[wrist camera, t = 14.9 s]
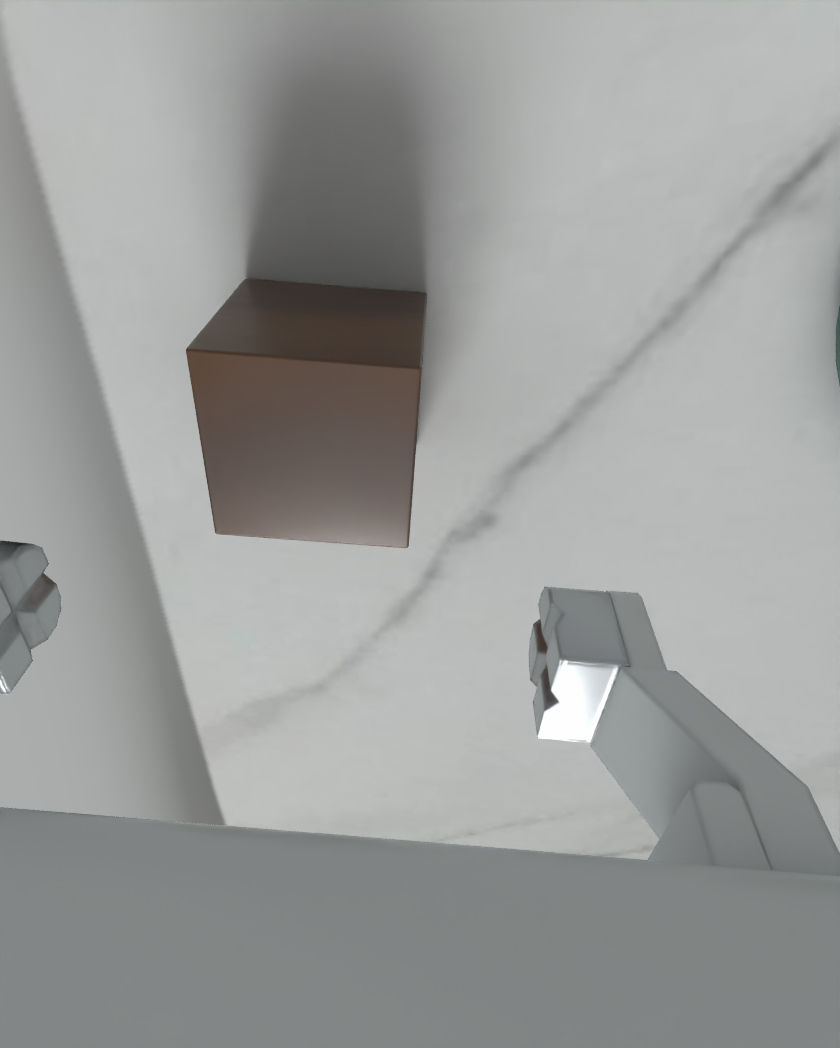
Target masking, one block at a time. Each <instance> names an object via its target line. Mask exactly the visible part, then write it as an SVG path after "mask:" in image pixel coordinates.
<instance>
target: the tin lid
mask: <svg viewBox="0 0 840 1048" xmlns="http://www.w3.org/2000/svg"><path fill="white" fill-rule="evenodd" d="M836 365H837V371H838V377H839V384H840V308H839V314H838V320H837V326H836Z"/></svg>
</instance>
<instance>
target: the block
mask: <svg viewBox="0 0 840 1048" xmlns="http://www.w3.org/2000/svg"><path fill="white" fill-rule="evenodd" d="M426 304H427V294H426V293H418V292H406V291H393V290H381V289H368V288H356V287H343V286H331V285H318V284H306V283H293V282H281V281H268V280H256V279H244V281H243V282H242V283H241V284H240V285H239V287H238V288H237V289H236V290H235V291H234V293H233V294H232V295H231V296H230V297H229V299H228V300H227V301H226V302H225V303H224V304H223V306H222V307H221V308H220V309H219V310H218V312H217V313H216V314H215V315H214V316H213V318H212V319H211V320H210V321H209V322H208V324H207V325H206V326H205V327H204V328H203V330H202V331H201V332H200V333H199V334H198V336H197V337H196V338H195V339H194V340H193V342H192V343H191V344H190V345H189V346H188V348H187V349H186V353H187V359H188V366H189V372H190V378H191V384H192V390H193V397H194V403H195V409H196V415H197V422H198V428H199V434H200V440H201V446H202V453H203V459H204V465H205V471H206V478H207V484H208V490H209V496H210V502H211V509H212V515H213V521H214V527H215V533H216V534H222V535H236V536H249V537H263V538H277V539H290V540H304V541H318V542H331V543H345V544H358V545H372V546H386V547H399V548H408V546H409V534H410V520H411V507H412V494H413V480H414V467H415V454H416V440H417V427H418V414H419V400H420V387H421V374H422V360H423V346H424V332H425V318H426Z"/></svg>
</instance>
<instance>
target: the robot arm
mask: <svg viewBox="0 0 840 1048" xmlns="http://www.w3.org/2000/svg"><path fill="white" fill-rule="evenodd" d="M48 564H49V563H48V560H47V558H46V556H45V553H44V551H43V549H42V547H39V546H37V545H34V544H28V543H19V542H10V541H0V693H1V694H10V693H11V691H12V690H13V688H14V687H15V686H16V684H17V683H18V681H19V680H20V678H21V677H22V676H23V674H24V673H25V671H26V670H27V668H28V667H29V666H30V664H31V663H32V661H33V660H32V655H31V649H32V648H34V647H36V646H38V645H39V644H41V643H43V642H45V641H46V640H48V638H49V637H50V635H51V634H52V632H53V631H54V629H55V628H56V626H57V622H58V618H59V615H60V612H61V597H60V593H59V590H58V587H57V584H56V583H54V582H53V581H52V580H51V579H50V578H48V577H47V576H46V575H45V574H44V571H45V569H46V567H47V566H48ZM538 605H539V612H540V619H539V620H538V621H537V622H535V623H534V624H533V629H532V633H531V638H530V647H529V671H530V680H531V681H532V682H533V683H534V684H535V686H536V687H537V689H536V693H535V697H534V701H533V706H534V714H535V722H536V730H537V738H545V739H554V740H564V741H573V742H582V743H591V745H590V746H591V748H592V749H593V750H594V752H595V753H596V754H597V756H598V757H599V758H600V760H601V761H602V762H603V764H604V765H605V766H606V768H607V769H608V770H609V772H610V773H611V775H612V776H613V777H614V779H615V780H616V781H617V783H618V784H619V785H620V787H621V788H622V789H623V791H624V792H625V793H626V795H627V796H628V797H629V799H630V800H631V801H632V803H633V804H634V806H635V807H636V808H637V810H638V811H639V812H640V814H641V815H642V816H643V818H644V819H645V820H646V822H647V823H648V824H649V826H650V827H651V828H652V830H653V831H654V832H655V834H656V835H657V837H658V838H659V839H660V840H659V842H658V843H657V845H656V847H655V848H654V850H653V852H652V853H651V855H650V857H649V858H648V860H640V859H628V858H616V857H604V856H592V855H579V854H567V853H555V852H543V851H531V850H518V849H506V848H494V847H482V846H470V845H457V844H445V843H433V842H420V841H408V840H396V839H383V838H371V837H359V836H346V835H334V834H322V833H309V832H297V831H285V830H272V829H260V828H247V827H235V826H223V825H211V824H197V823H186V822H174V821H162V820H150V819H138V818H125V817H113V816H101V815H89V814H77V813H64V812H52V811H40V810H27V809H16V808H3V807H0V1048H840V853H839V851H838V849H837V847H836V845H835V843H834V841H833V839H832V836H831V834H830V832H829V830H828V828H827V826H826V824H825V822H824V820H823V818H822V815H821V813H820V811H819V809H818V807H817V805H816V803H815V801H814V799H813V796H812V794H811V792H810V790H809V788H808V787H807V786H806V785H805V784H804V783H803V782H802V781H801V780H799V779H798V778H797V777H796V776H795V775H794V774H793V773H791V772H790V771H789V770H788V769H787V768H786V767H785V766H783V765H782V764H781V763H780V762H779V761H778V760H777V759H776V758H774V757H773V756H772V755H771V754H770V753H769V752H768V751H766V750H765V749H764V748H763V747H762V746H761V745H760V744H759V743H757V742H756V741H755V740H754V739H753V738H752V737H751V736H749V735H748V734H747V733H746V732H745V731H744V730H743V729H741V728H740V727H739V726H738V725H737V724H736V723H735V722H734V721H732V720H731V719H730V718H729V717H728V716H727V715H726V714H724V713H723V712H722V711H721V710H720V709H719V708H718V707H717V706H715V705H714V704H713V703H712V702H711V701H710V700H709V699H707V698H706V697H705V696H704V695H703V694H702V693H701V692H700V691H698V690H697V689H696V688H695V687H694V686H693V685H692V684H690V683H689V682H688V681H687V680H686V679H685V678H684V677H682V676H681V675H680V674H679V673H678V672H677V671H667V668H666V665H665V663H664V660H663V657H662V654H661V651H660V648H659V645H658V642H657V640H656V637H655V634H654V631H653V628H652V625H651V622H650V619H649V617H648V614H647V611H646V608H645V605H644V602H643V599H642V597H641V596H640V595H639V594H638V593H631V592H616V591H606V592H604V591H595V590H582V589H568V588H555V587H544V589H543V591H542V593H541V597H540V600H539V604H538Z"/></svg>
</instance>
